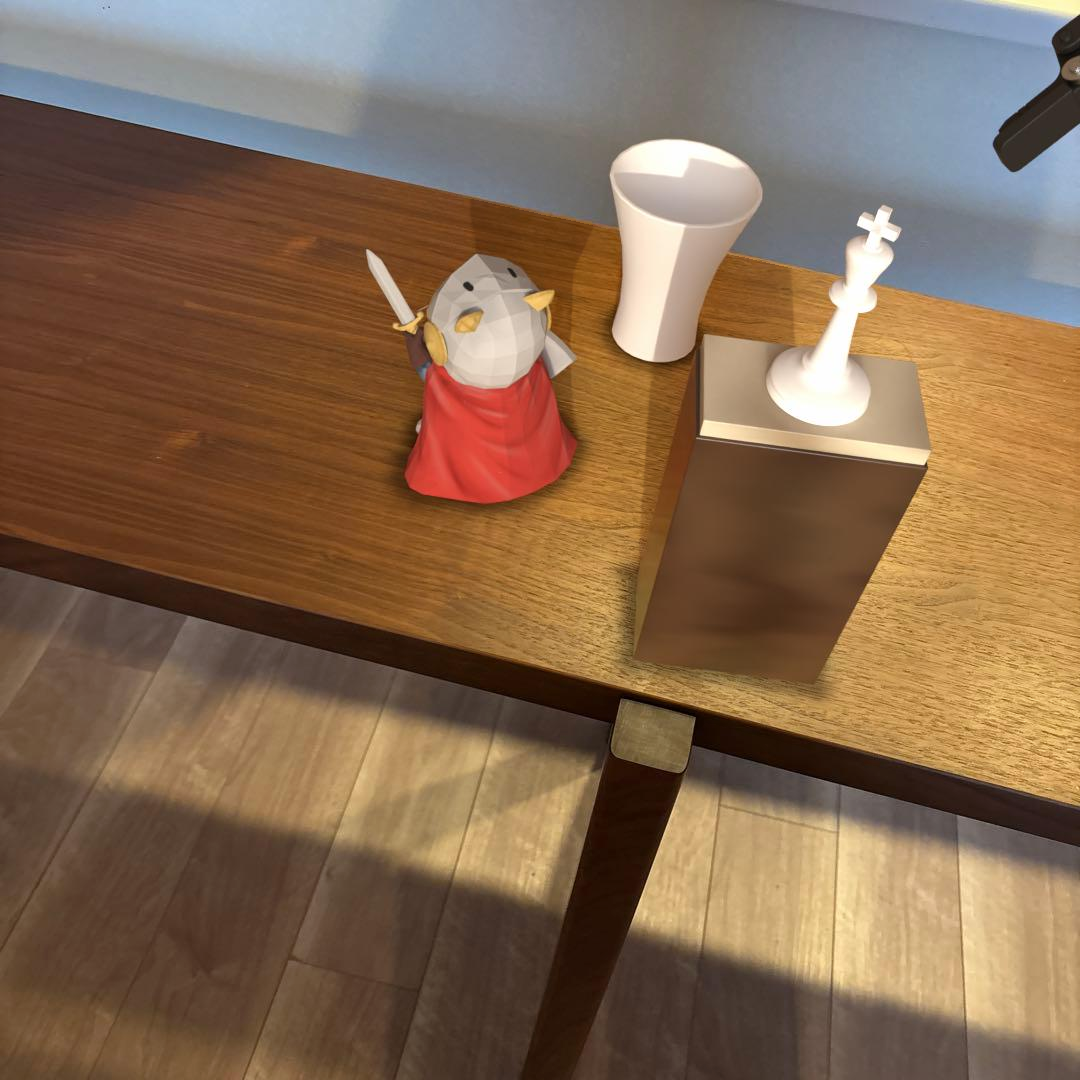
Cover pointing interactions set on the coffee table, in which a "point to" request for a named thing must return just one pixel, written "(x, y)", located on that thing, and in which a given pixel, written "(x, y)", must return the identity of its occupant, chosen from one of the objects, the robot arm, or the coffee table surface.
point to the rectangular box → (772, 516)
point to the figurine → (484, 383)
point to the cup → (674, 238)
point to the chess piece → (836, 338)
